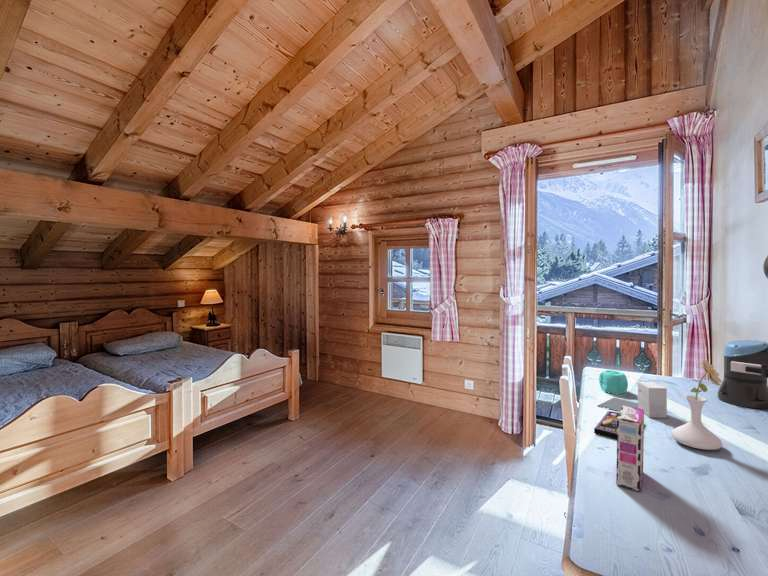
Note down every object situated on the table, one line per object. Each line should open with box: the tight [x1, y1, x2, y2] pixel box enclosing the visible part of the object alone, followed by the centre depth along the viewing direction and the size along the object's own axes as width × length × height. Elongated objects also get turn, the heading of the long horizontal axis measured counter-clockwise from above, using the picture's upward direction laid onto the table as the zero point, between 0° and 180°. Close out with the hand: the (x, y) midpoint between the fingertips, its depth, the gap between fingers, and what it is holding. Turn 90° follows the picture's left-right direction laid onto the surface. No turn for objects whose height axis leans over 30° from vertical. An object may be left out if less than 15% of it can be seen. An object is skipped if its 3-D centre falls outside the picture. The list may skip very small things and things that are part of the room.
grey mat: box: [597, 397, 638, 413], centre depth 135 cm, size 14×10×1 cm
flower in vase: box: [670, 358, 724, 451], centre depth 104 cm, size 13×11×25 cm
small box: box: [637, 381, 668, 419], centre depth 127 cm, size 8×6×10 cm
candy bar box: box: [615, 406, 645, 493], centre depth 87 cm, size 11×5×16 cm, turn 141°
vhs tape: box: [593, 410, 619, 440], centre depth 116 cm, size 10×2×19 cm
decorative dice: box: [598, 369, 629, 395], centre depth 151 cm, size 8×8×8 cm
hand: (731, 366), depth 109 cm, fingers closed
